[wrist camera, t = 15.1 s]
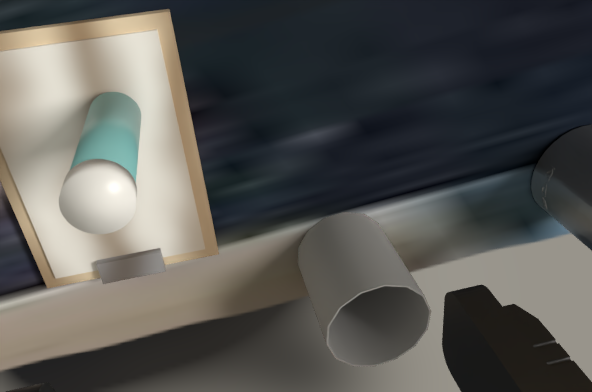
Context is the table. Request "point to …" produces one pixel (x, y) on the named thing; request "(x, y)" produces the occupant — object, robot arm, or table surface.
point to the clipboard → (66, 133)
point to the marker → (104, 167)
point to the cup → (361, 291)
